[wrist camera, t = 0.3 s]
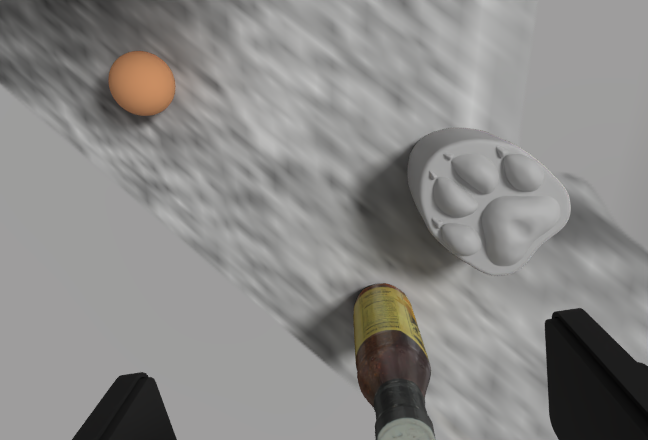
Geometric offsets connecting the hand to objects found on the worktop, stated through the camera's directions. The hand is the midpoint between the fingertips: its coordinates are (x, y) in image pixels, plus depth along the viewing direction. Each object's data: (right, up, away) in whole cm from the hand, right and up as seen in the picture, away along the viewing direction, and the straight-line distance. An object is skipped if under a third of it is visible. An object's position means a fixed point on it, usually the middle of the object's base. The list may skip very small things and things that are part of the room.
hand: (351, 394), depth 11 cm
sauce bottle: (+6, -5, +39) cm, 40 cm away
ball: (-17, +16, +29) cm, 38 cm away
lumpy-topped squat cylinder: (+13, +8, +34) cm, 38 cm away
